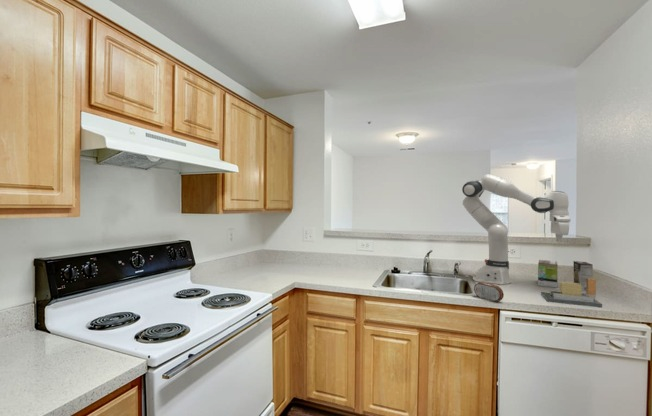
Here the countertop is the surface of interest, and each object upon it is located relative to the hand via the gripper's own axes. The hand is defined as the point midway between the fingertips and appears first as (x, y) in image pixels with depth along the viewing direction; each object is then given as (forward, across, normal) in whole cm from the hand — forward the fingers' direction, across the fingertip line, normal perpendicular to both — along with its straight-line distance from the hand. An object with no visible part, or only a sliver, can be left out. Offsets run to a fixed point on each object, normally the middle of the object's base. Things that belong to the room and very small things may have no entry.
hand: (559, 241), depth 175 cm
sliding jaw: (+27, +19, +1) cm, 33 cm away
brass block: (+28, +22, -1) cm, 35 cm away
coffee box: (+29, -10, +14) cm, 34 cm away
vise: (+29, +22, -1) cm, 36 cm away
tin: (+29, +36, -40) cm, 61 cm away
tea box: (+29, -16, -2) cm, 33 cm away
